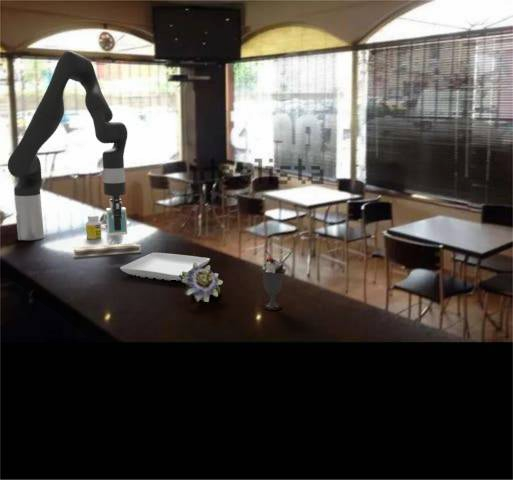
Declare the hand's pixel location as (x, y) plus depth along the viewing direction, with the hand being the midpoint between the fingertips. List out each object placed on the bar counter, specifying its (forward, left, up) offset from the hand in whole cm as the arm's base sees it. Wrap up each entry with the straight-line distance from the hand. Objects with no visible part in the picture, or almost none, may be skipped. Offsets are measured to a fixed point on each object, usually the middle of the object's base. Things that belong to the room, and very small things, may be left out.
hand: (117, 228), depth 202 cm
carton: (0, 0, -2) cm, 2 cm away
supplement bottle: (-7, +19, -8) cm, 22 cm away
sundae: (+32, -72, -8) cm, 79 cm away
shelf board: (-4, -1, -8) cm, 9 cm away
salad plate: (+12, -31, -9) cm, 34 cm away
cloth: (0, +50, -9) cm, 51 cm away
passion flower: (+16, -59, -8) cm, 62 cm away
